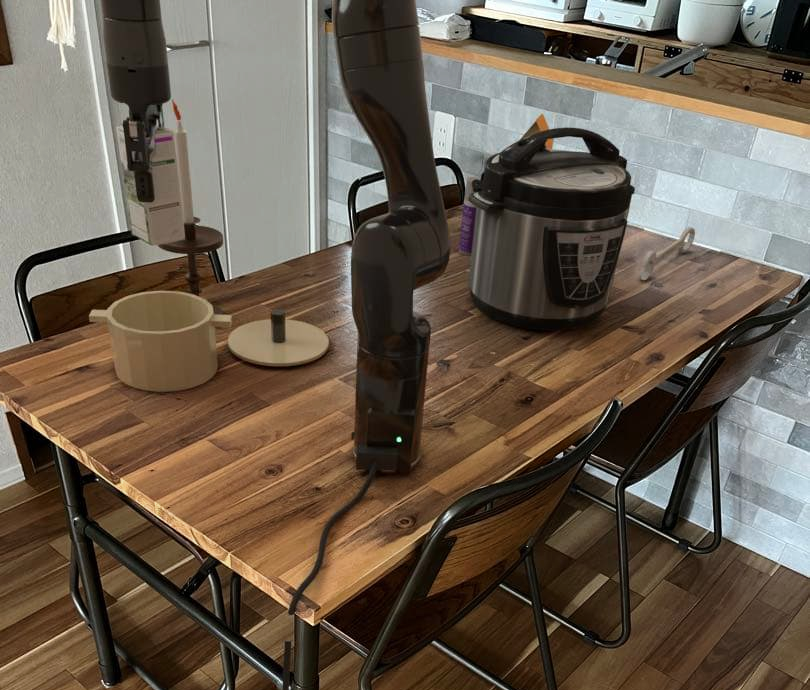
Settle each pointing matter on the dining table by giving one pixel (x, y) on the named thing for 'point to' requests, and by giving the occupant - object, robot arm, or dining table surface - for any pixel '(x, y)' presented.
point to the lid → (278, 341)
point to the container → (468, 220)
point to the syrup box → (165, 212)
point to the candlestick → (191, 218)
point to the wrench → (667, 252)
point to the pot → (163, 339)
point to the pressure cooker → (549, 231)
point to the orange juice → (538, 127)
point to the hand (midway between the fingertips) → (152, 191)
